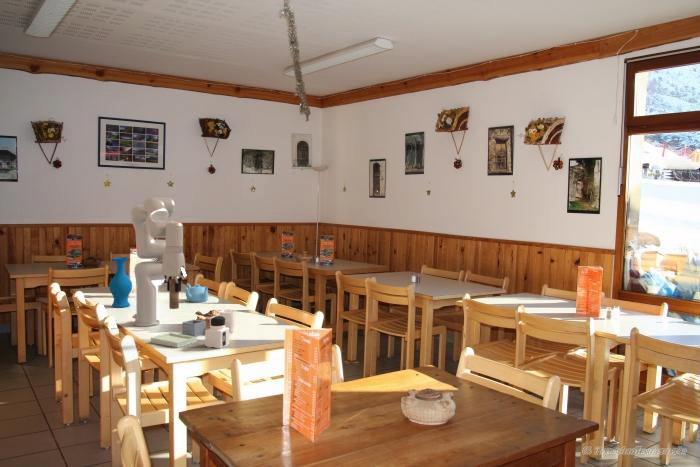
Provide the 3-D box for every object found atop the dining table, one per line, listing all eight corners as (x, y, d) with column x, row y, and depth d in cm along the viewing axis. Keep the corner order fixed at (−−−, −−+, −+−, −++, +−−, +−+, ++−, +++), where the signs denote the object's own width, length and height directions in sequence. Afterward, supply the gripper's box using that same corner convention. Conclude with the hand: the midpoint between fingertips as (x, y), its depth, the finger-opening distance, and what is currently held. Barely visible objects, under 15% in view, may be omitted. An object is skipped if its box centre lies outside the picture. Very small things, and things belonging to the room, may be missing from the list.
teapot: (210, 298, 379) (211, 282, 378) (208, 303, 364) (208, 286, 364) (186, 299, 377) (186, 282, 376) (183, 303, 362) (183, 286, 362)
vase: (136, 306, 351) (136, 258, 349) (118, 309, 340) (118, 259, 338) (123, 303, 357) (123, 256, 355) (104, 306, 347) (104, 258, 345)
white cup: (231, 334, 288) (231, 313, 287) (216, 332, 290) (216, 312, 289) (238, 330, 296) (238, 310, 295) (222, 329, 297) (223, 309, 297)
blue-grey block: (182, 334, 284) (182, 322, 284) (193, 331, 291) (194, 319, 291) (194, 337, 281) (194, 324, 280) (205, 333, 287) (206, 321, 287)
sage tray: (150, 342, 269) (150, 337, 269) (170, 337, 279) (170, 332, 279) (177, 347, 261) (177, 342, 261) (196, 342, 272) (196, 337, 272)
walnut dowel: (167, 308, 268) (167, 279, 268) (174, 306, 272) (174, 278, 271) (174, 309, 267) (174, 280, 266) (180, 307, 270) (180, 279, 269)
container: (229, 344, 268) (229, 315, 267) (220, 348, 261) (220, 319, 260) (214, 342, 271) (214, 314, 270) (204, 347, 264) (205, 317, 263)
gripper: (154, 249, 268) (154, 290, 269) (182, 252, 260) (181, 294, 261) (166, 248, 275) (166, 288, 276) (194, 250, 267) (194, 291, 268)
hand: (174, 290), depth 269 cm, fingers closed on walnut dowel, 4 cm apart
